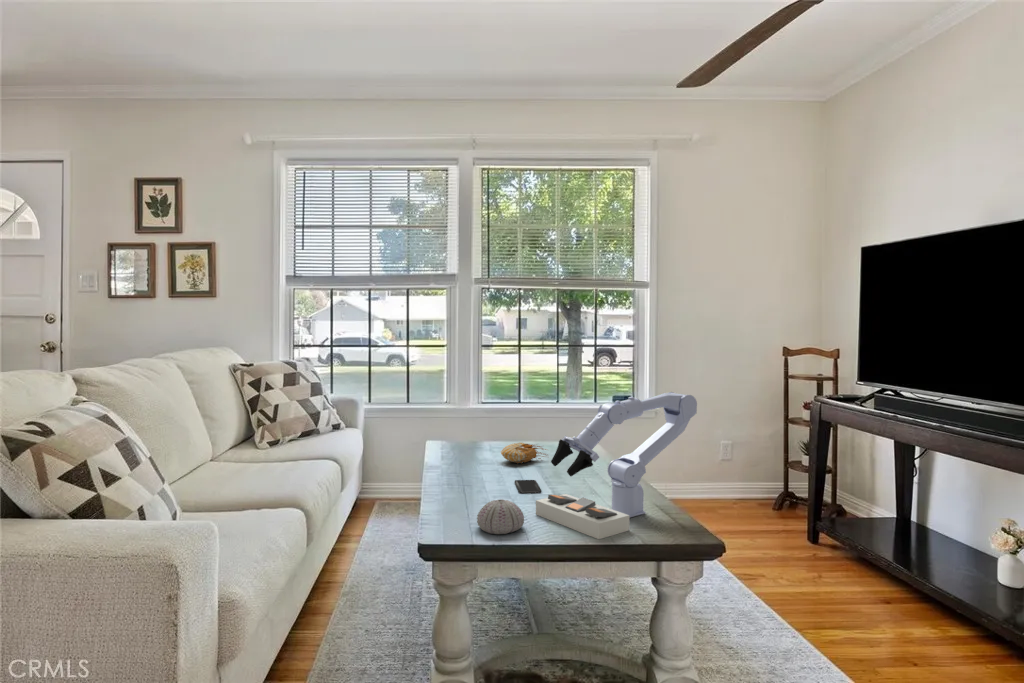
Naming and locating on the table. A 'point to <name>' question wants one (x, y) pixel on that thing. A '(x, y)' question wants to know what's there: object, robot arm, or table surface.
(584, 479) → the table surface
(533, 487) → the phone
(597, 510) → the rocker
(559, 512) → the rocker switch panel
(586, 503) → the rocker middle
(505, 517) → the sea urchin shell
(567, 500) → the rocker
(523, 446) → the nautilus
